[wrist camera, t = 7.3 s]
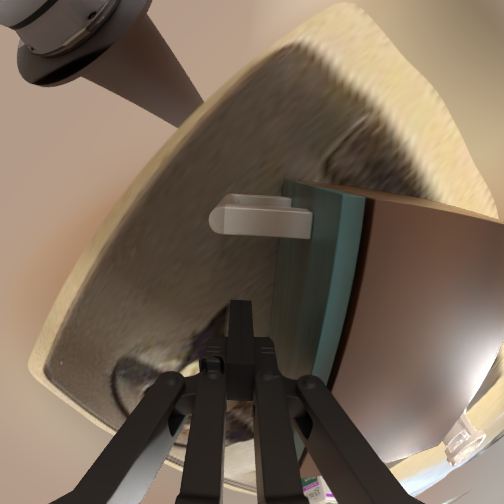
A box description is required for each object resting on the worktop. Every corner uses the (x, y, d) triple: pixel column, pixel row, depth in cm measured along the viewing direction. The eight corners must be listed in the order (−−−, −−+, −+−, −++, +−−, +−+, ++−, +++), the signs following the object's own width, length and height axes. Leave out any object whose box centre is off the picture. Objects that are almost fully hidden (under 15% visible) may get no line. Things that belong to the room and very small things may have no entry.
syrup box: (305, 417, 34) (323, 500, 20) (331, 427, 35) (353, 502, 21) (279, 435, 35) (289, 514, 21) (306, 444, 36) (320, 516, 22)
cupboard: (276, 359, 30) (295, 479, 15) (297, 180, 25) (375, 198, 9) (382, 354, 31) (438, 445, 16) (420, 198, 25) (537, 233, 10)
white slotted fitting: (424, 391, 34) (464, 453, 20) (453, 378, 34) (495, 432, 20) (413, 416, 36) (445, 475, 22) (442, 404, 36) (476, 456, 22)
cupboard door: (221, 358, 30) (209, 477, 15) (226, 175, 24) (196, 183, 9) (274, 360, 30) (291, 477, 15) (294, 180, 25) (366, 197, 10)
